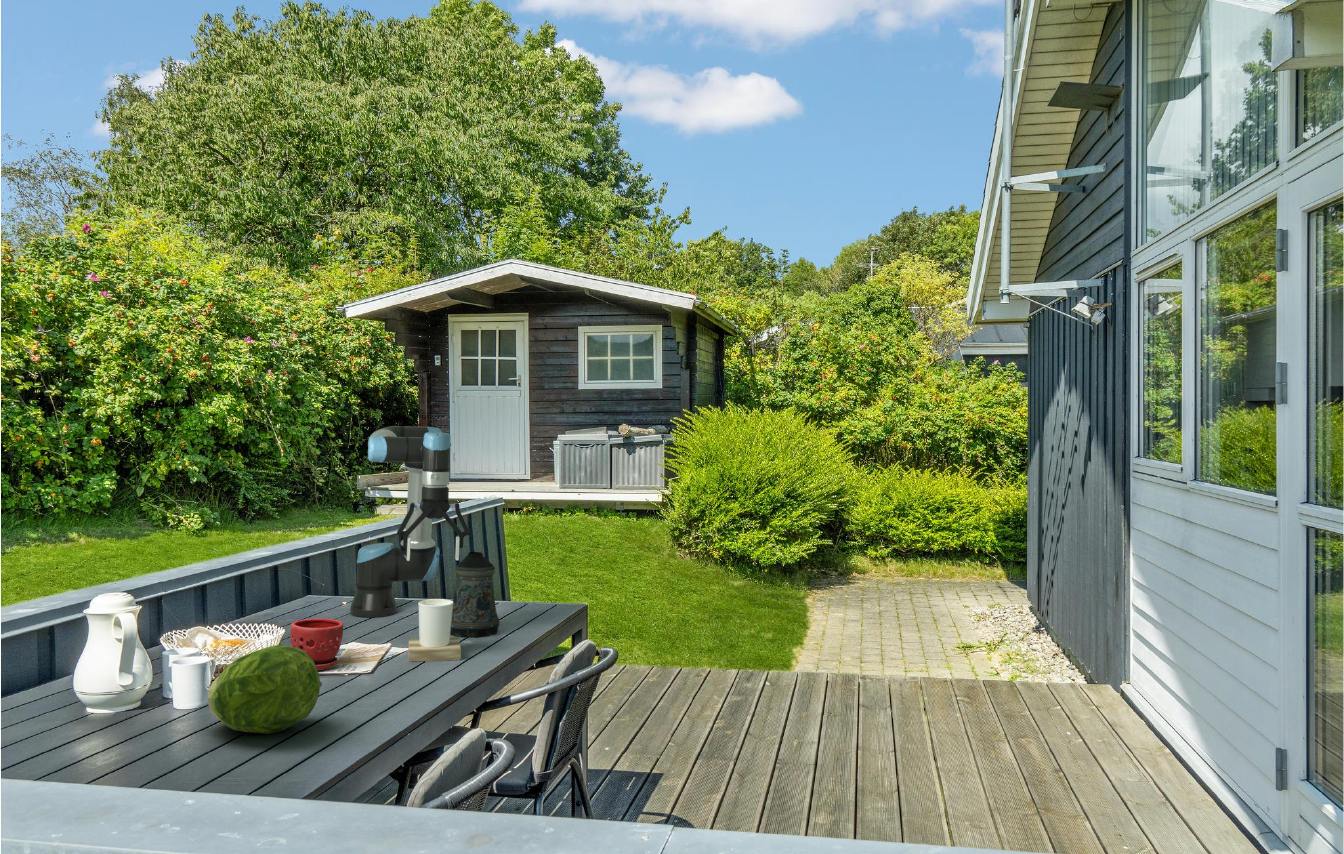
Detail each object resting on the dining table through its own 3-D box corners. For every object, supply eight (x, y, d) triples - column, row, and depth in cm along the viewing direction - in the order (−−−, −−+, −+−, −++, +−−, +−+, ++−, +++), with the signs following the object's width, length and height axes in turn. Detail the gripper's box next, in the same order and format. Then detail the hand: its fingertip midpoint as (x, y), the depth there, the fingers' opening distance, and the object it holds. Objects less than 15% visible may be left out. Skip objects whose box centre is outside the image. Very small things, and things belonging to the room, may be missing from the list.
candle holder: (456, 640, 265) (458, 599, 265) (445, 649, 256) (446, 606, 255) (424, 638, 266) (425, 597, 266) (411, 647, 256) (412, 604, 256)
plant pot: (324, 675, 237) (325, 629, 236) (278, 670, 239) (280, 625, 239) (351, 662, 249) (352, 619, 249) (308, 658, 252) (309, 615, 252)
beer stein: (469, 640, 278) (472, 559, 277) (429, 629, 289) (432, 551, 289) (510, 631, 291) (513, 554, 291) (469, 621, 303) (472, 546, 302)
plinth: (408, 649, 266) (408, 638, 266) (457, 647, 270) (457, 637, 270) (408, 661, 252) (409, 651, 252) (460, 659, 256) (460, 649, 256)
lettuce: (250, 710, 209) (231, 636, 206) (343, 702, 205) (324, 627, 202) (196, 755, 191) (174, 675, 188) (296, 748, 187) (275, 666, 183)
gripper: (390, 486, 254) (387, 562, 255) (480, 487, 262) (478, 561, 262) (390, 484, 261) (387, 557, 262) (478, 485, 269) (475, 556, 269)
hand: (432, 559), depth 262 cm, fingers open, 13 cm apart
